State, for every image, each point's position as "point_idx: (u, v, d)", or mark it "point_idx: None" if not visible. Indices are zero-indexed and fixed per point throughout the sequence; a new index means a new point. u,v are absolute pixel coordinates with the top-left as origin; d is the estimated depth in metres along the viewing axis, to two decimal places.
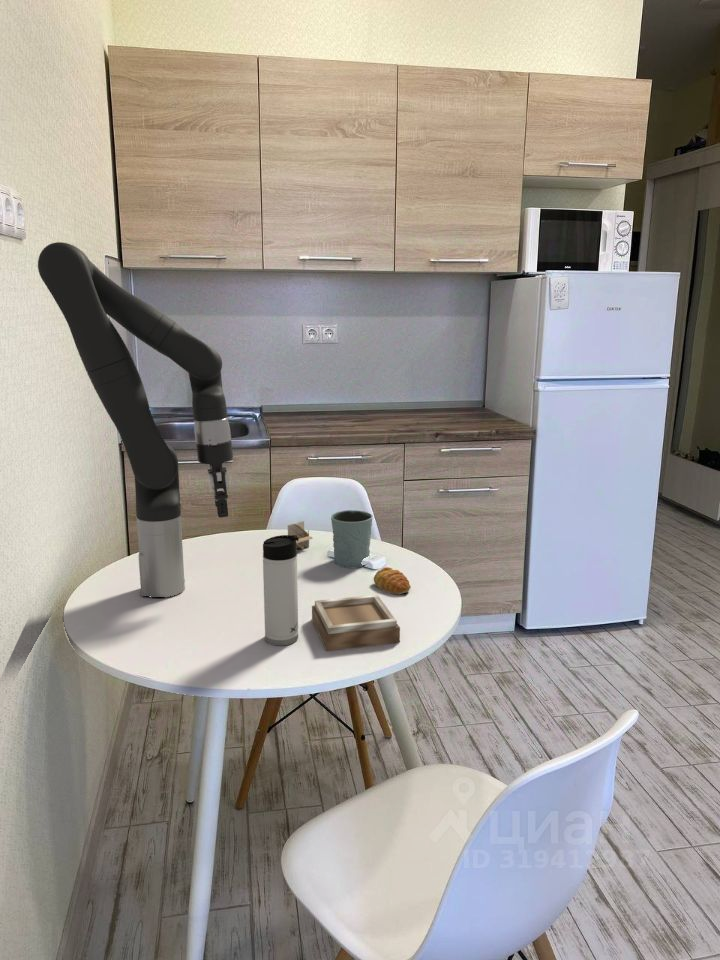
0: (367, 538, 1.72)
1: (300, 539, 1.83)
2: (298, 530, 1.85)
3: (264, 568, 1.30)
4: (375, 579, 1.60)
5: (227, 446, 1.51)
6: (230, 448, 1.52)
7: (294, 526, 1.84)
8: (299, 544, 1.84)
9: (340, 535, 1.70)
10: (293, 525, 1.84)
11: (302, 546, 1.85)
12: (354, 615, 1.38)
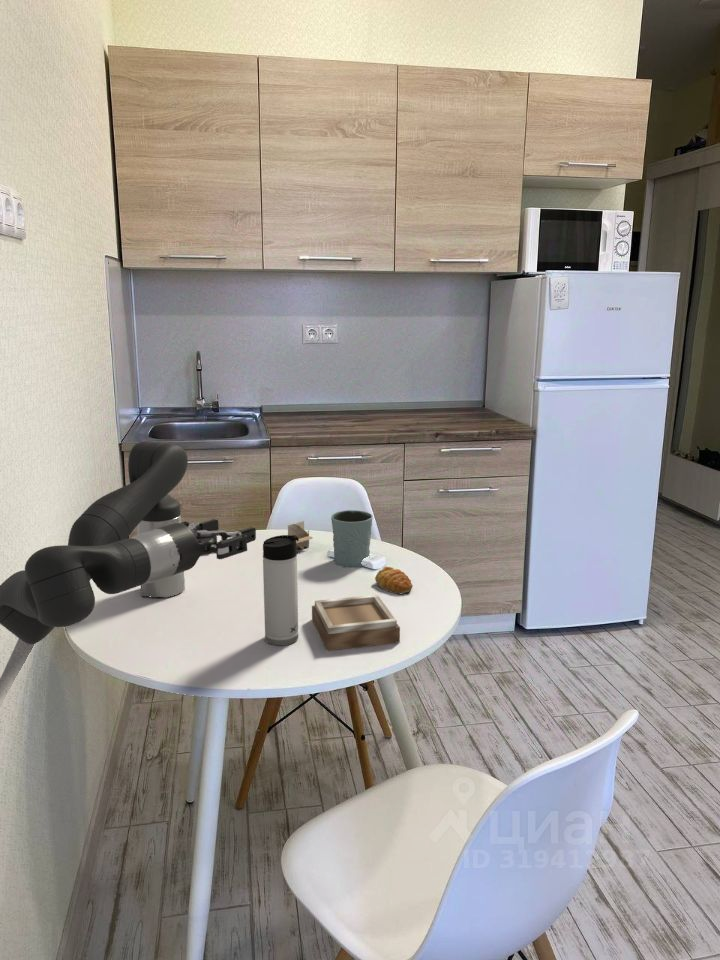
0: (367, 538, 1.72)
1: (300, 539, 1.83)
2: (298, 530, 1.85)
3: (264, 568, 1.30)
4: (377, 579, 1.61)
5: (177, 537, 1.05)
6: (177, 531, 1.06)
7: (294, 526, 1.84)
8: (299, 544, 1.84)
9: (340, 535, 1.70)
10: (293, 525, 1.84)
11: (302, 546, 1.85)
12: (354, 615, 1.38)
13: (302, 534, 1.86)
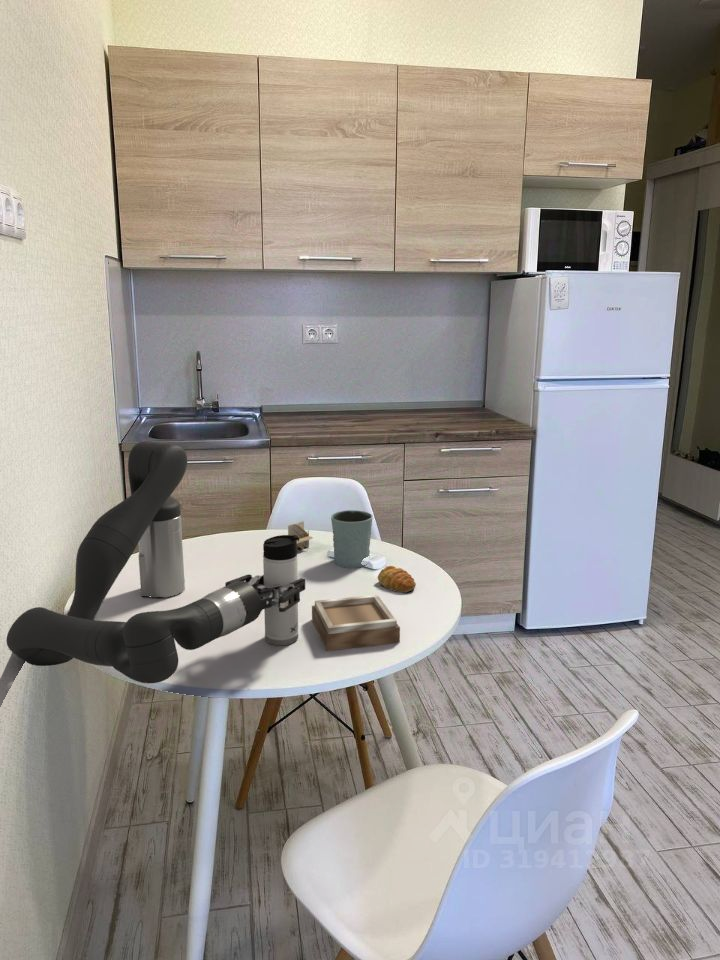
0: (367, 538, 1.72)
1: (300, 539, 1.83)
2: (298, 530, 1.85)
3: (264, 568, 1.30)
4: (380, 578, 1.61)
5: (243, 595, 1.19)
6: (242, 589, 1.20)
7: (294, 526, 1.84)
8: (299, 544, 1.84)
9: (340, 535, 1.70)
10: (293, 525, 1.83)
11: (302, 546, 1.85)
12: (354, 615, 1.38)
13: (302, 535, 1.86)
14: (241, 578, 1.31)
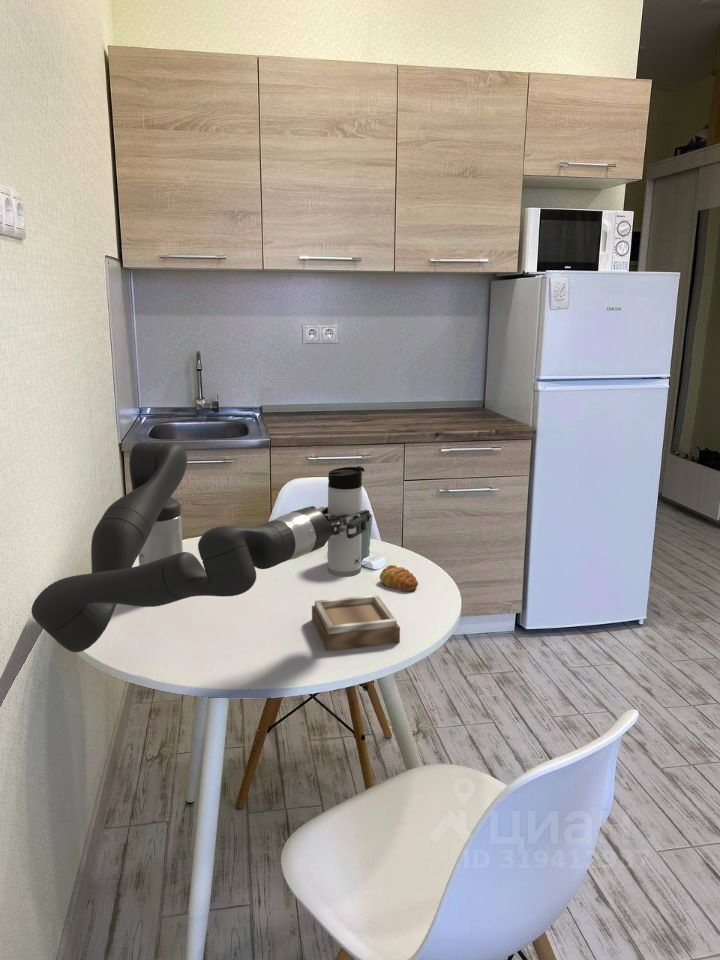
0: (367, 538, 1.72)
1: None
2: None
3: (329, 498, 1.29)
4: (382, 577, 1.62)
5: (313, 519, 1.19)
6: (312, 514, 1.20)
7: None
8: None
9: None
10: None
11: None
12: (354, 615, 1.38)
13: None
14: None
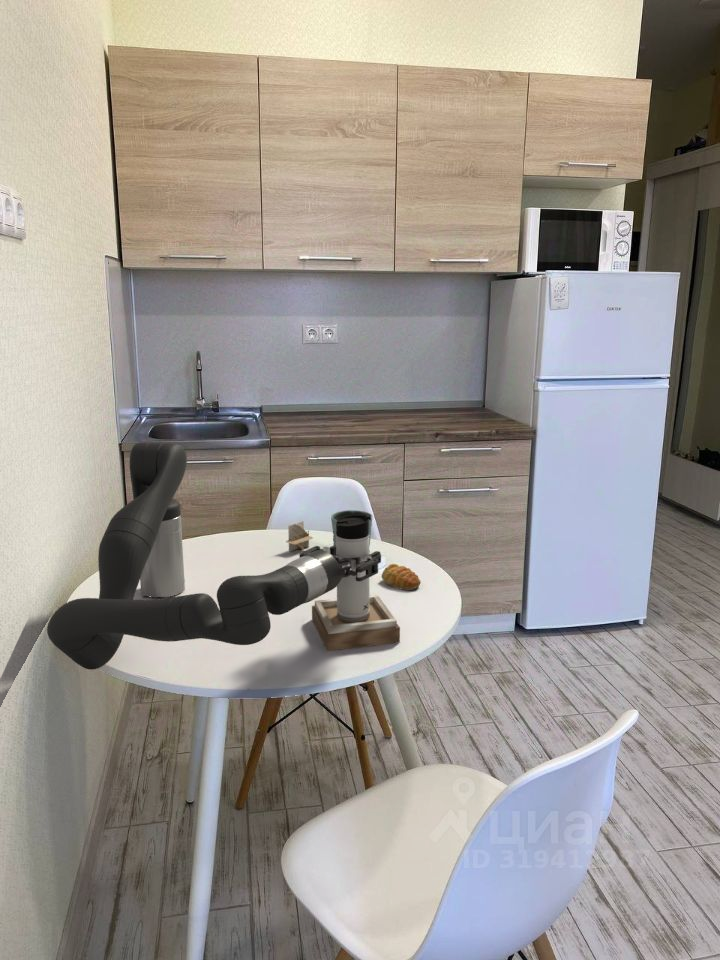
0: None
1: (301, 539, 1.83)
2: (298, 530, 1.85)
3: (338, 547, 1.32)
4: (384, 576, 1.62)
5: (325, 563, 1.22)
6: (323, 558, 1.23)
7: (294, 526, 1.84)
8: (300, 544, 1.84)
9: None
10: (293, 525, 1.83)
11: (302, 546, 1.85)
12: None
13: (301, 535, 1.86)
14: (312, 549, 1.33)
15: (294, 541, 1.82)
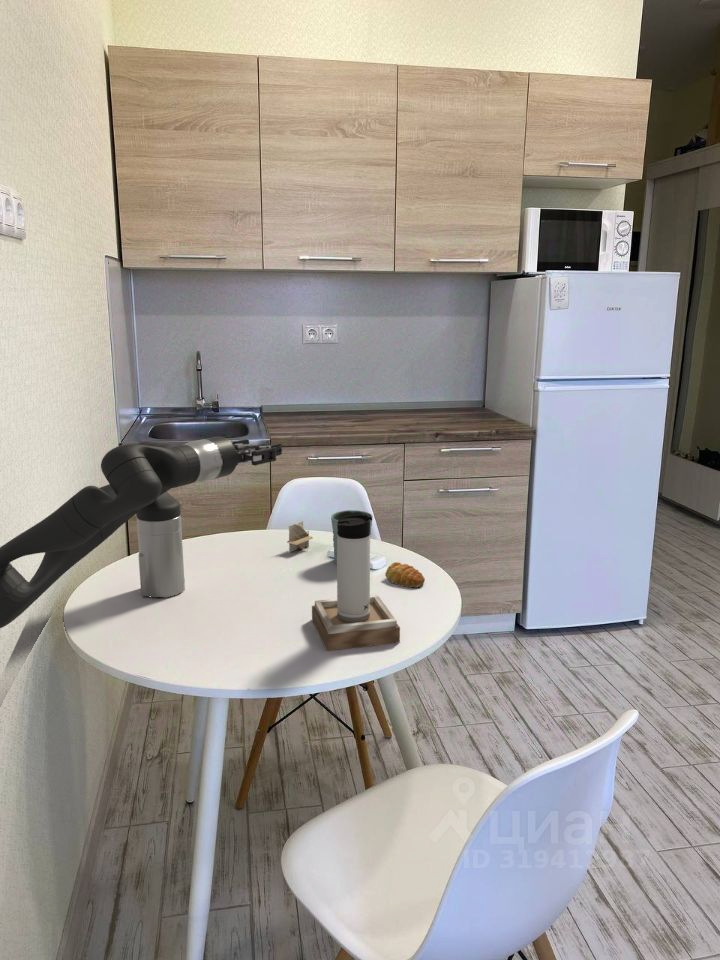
0: None
1: (301, 539, 1.83)
2: (298, 530, 1.85)
3: (339, 547, 1.32)
4: (388, 575, 1.63)
5: (220, 445, 1.28)
6: (219, 441, 1.29)
7: (294, 527, 1.83)
8: (300, 544, 1.84)
9: None
10: (294, 526, 1.83)
11: (303, 546, 1.85)
12: None
13: (301, 535, 1.86)
14: None
15: (294, 541, 1.81)
